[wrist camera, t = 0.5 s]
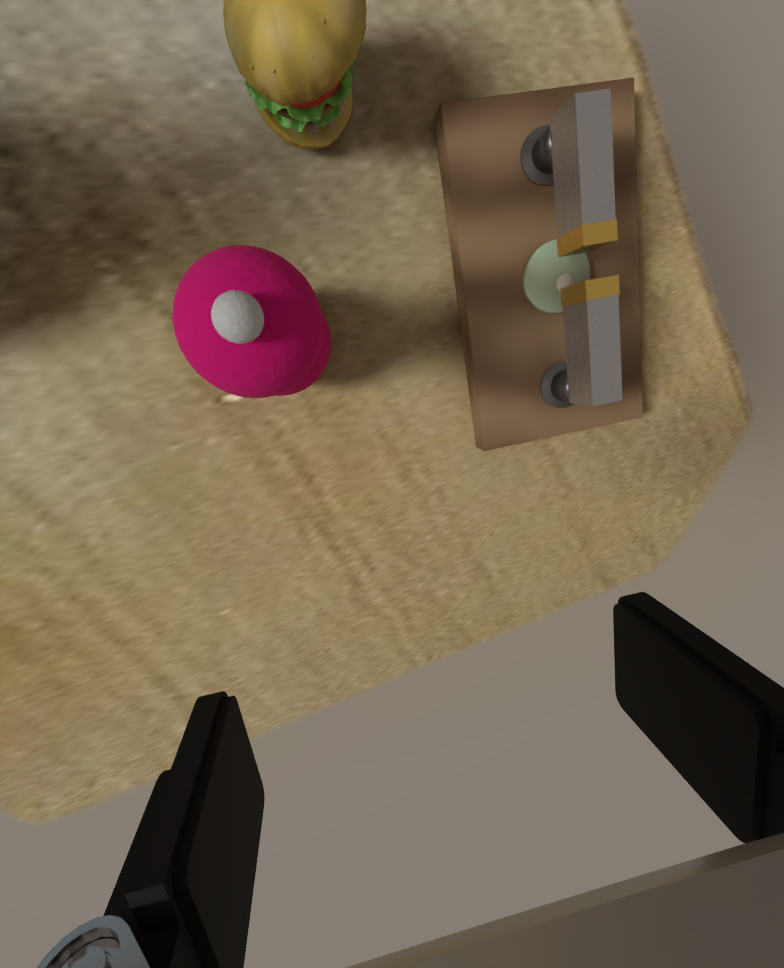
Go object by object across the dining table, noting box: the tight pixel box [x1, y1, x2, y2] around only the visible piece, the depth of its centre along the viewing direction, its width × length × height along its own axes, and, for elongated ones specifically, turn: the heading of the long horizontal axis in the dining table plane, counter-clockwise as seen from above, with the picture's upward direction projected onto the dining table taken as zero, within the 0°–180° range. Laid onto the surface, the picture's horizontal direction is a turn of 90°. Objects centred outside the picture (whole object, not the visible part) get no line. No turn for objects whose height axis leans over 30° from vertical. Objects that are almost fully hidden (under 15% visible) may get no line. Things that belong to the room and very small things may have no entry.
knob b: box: [550, 275, 622, 406], centre depth 32 cm, size 8×2×6 cm, turn 10°
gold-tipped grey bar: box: [532, 89, 618, 257], centre depth 30 cm, size 8×2×6 cm, turn 10°
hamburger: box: [224, 0, 366, 149], centre depth 25 cm, size 8×7×12 cm
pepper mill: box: [173, 246, 331, 398], centre depth 25 cm, size 7×7×20 cm
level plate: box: [434, 78, 643, 451], centre depth 35 cm, size 24×14×3 cm, turn 10°
